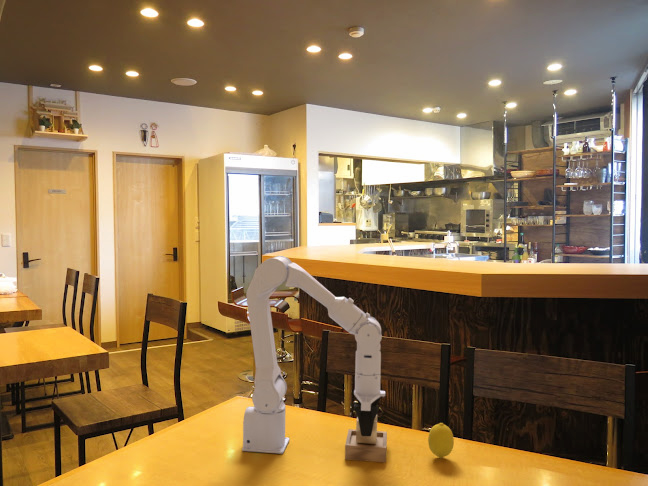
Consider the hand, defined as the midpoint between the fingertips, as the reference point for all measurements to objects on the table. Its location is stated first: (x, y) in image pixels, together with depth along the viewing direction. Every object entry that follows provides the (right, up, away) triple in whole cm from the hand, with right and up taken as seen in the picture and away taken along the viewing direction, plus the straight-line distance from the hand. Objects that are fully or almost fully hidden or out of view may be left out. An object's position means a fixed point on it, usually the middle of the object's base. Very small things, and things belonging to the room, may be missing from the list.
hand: (366, 431), depth 119 cm
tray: (0, -5, 0) cm, 5 cm away
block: (0, -2, 0) cm, 2 cm away
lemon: (+16, -5, -2) cm, 17 cm away
